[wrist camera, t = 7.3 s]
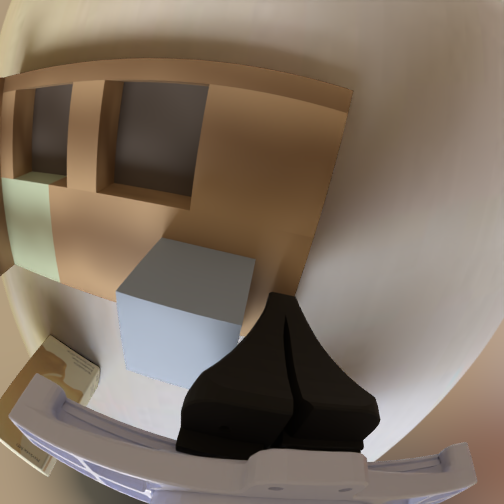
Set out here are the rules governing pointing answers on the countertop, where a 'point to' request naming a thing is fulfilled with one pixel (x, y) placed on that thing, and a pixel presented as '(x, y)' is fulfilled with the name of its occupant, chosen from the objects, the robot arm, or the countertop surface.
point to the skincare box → (62, 373)
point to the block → (182, 310)
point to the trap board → (164, 168)
